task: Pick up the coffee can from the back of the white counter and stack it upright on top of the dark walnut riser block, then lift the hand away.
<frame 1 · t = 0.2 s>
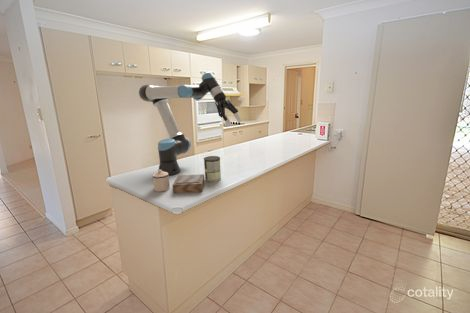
hand: (235, 123, 146), 35 cm above the worktop, tool tilted 35°, fingers open, 13 cm apart
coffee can: (213, 179, 149), on the worktop
riser block: (189, 187, 136), on the worktop
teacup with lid: (160, 188, 135), on the worktop
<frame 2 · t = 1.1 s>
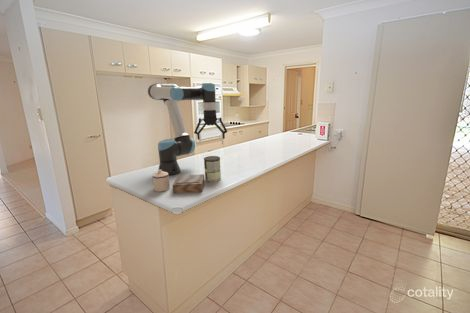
hand: (211, 144, 143), 23 cm above the worktop, tool pointing down, fingers open, 13 cm apart
nothing on the worktop moved.
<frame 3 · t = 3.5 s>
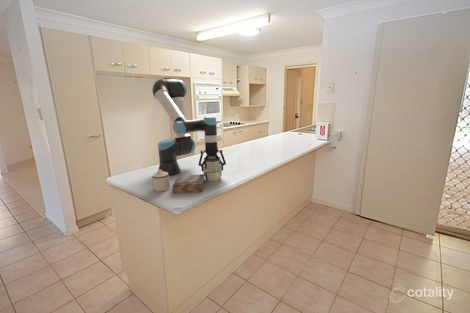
hand: (212, 175, 148), 2 cm above the worktop, tool pointing down, fingers closed on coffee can, 10 cm apart
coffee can: (213, 179, 149), on the worktop, touching gripper
everything else where it was.
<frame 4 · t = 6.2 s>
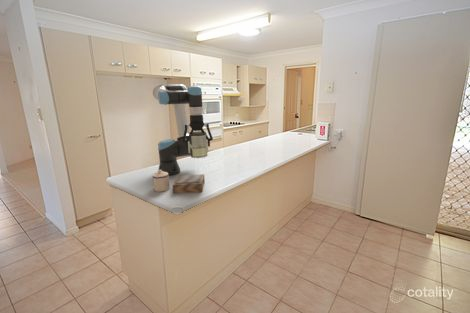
hand: (198, 152, 136), 20 cm above the worktop, tool pointing down, fingers closed on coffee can, 10 cm apart
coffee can: (199, 156, 137), point 17 cm above the worktop, touching gripper
everything else where it was.
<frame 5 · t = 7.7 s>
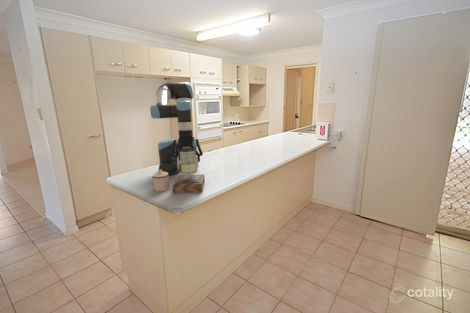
hand: (188, 167, 132), 12 cm above the worktop, tool pointing down, fingers closed on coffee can, 10 cm apart
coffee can: (188, 172, 133), point 9 cm above the worktop, touching gripper
everything else where it was.
when the fingers open (9 cm above the worktop, at t = 8.8 s): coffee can drops 1 cm, resting on riser block.
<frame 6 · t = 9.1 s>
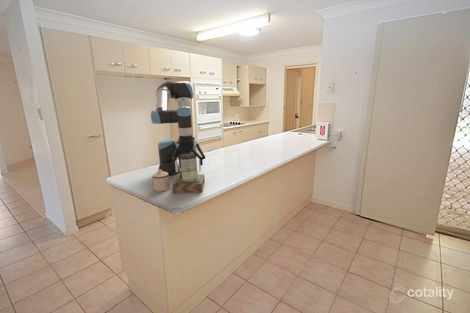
hand: (188, 171, 133), 10 cm above the worktop, tool pointing down, fingers open, 13 cm apart
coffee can: (189, 178, 134), point 5 cm above the worktop, touching riser block
everything else where it was.
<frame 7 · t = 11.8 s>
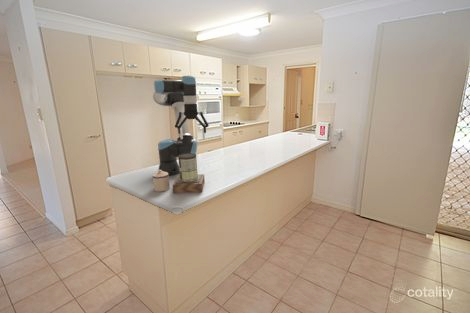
hand: (192, 138, 141), 27 cm above the worktop, tool pointing down, fingers open, 13 cm apart
nothing on the worktop moved.
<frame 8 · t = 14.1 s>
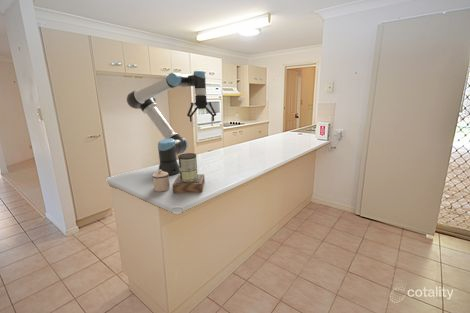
hand: (202, 126, 162), 32 cm above the worktop, tool pointing down, fingers open, 13 cm apart
nothing on the worktop moved.
at the end: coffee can inside the target area on the riser block (0.0 cm from its centre), point 5.2 cm above the riser block's base; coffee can tilted 0°; the gripper is holding nothing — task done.
